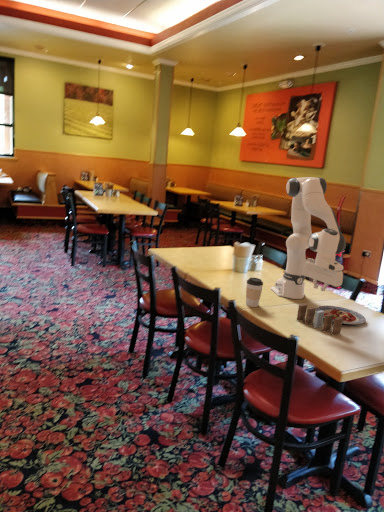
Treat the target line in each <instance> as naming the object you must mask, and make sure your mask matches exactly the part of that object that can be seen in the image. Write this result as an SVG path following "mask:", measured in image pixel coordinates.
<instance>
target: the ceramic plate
mask: <svg viewBox="0 0 384 512" xmlns="http://www.w3.org/2000/svg"><path fill="white" fill-rule="evenodd" d="M315 308H316V310H315V313H316V312H317V311H320V310H323V311H324V317H323V319H325V315H327V314H333V321H332V322H334V319H335V318H338V317H341V318H343V320H342V325H344V324H345V325H361V324H363V323H365V322H366V317H365V316H364V315H363V314H361V313H360V312H358V311H355V310H352V309H349V308H345V307H342V306H337V305H320V306H317V307H315Z"/></svg>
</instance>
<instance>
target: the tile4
mask: <svg viewBox="0 0 384 512" xmlns="http://www.w3.org/2000/svg"><path fill="white" fill-rule="evenodd" d="M333 322H334V321H333V314H327V315H325V318H323V323H322V332H324V333H325V332H329V331H332V327H333Z"/></svg>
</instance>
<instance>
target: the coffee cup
mask: <svg viewBox="0 0 384 512" xmlns="http://www.w3.org/2000/svg"><path fill="white" fill-rule="evenodd" d="M263 285H264V282H263V280H262V279H260V278H258V277H249V278H248V279H247V280H246V288H245V290H246V291H245V305H246V306H248V307H250V308H251V307H252V308H257V307H259V304H260V299H261V295H262V290H263Z"/></svg>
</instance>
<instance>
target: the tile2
mask: <svg viewBox="0 0 384 512" xmlns="http://www.w3.org/2000/svg"><path fill="white" fill-rule="evenodd" d="M316 308H317V307H315V306H311V307H307V310H306V316H305V321H304V324H305V325H310V324H314V320H315V315H316V312H315V310H316Z"/></svg>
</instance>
